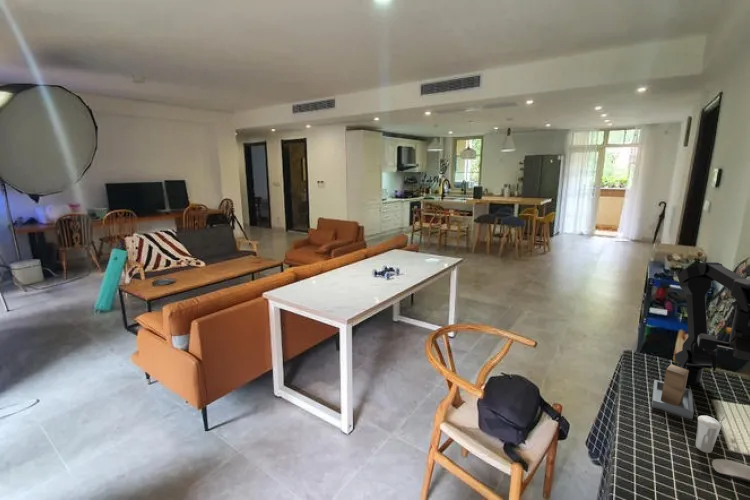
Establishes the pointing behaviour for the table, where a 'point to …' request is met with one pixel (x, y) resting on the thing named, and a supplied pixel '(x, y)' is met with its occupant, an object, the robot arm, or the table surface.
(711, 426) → the milkshake
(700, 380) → the robot arm
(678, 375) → the block
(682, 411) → the tray
